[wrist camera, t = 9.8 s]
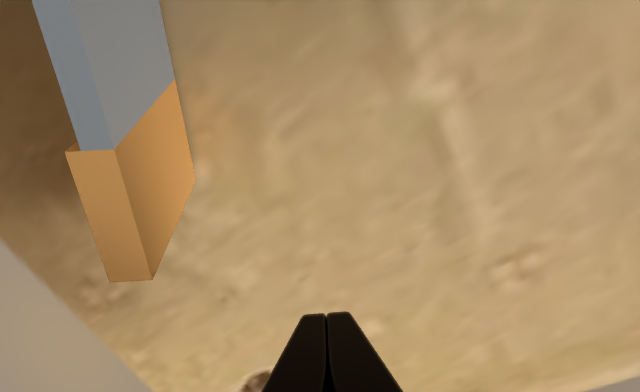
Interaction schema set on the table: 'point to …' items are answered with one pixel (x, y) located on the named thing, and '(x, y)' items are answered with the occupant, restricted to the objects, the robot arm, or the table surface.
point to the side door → (121, 126)
